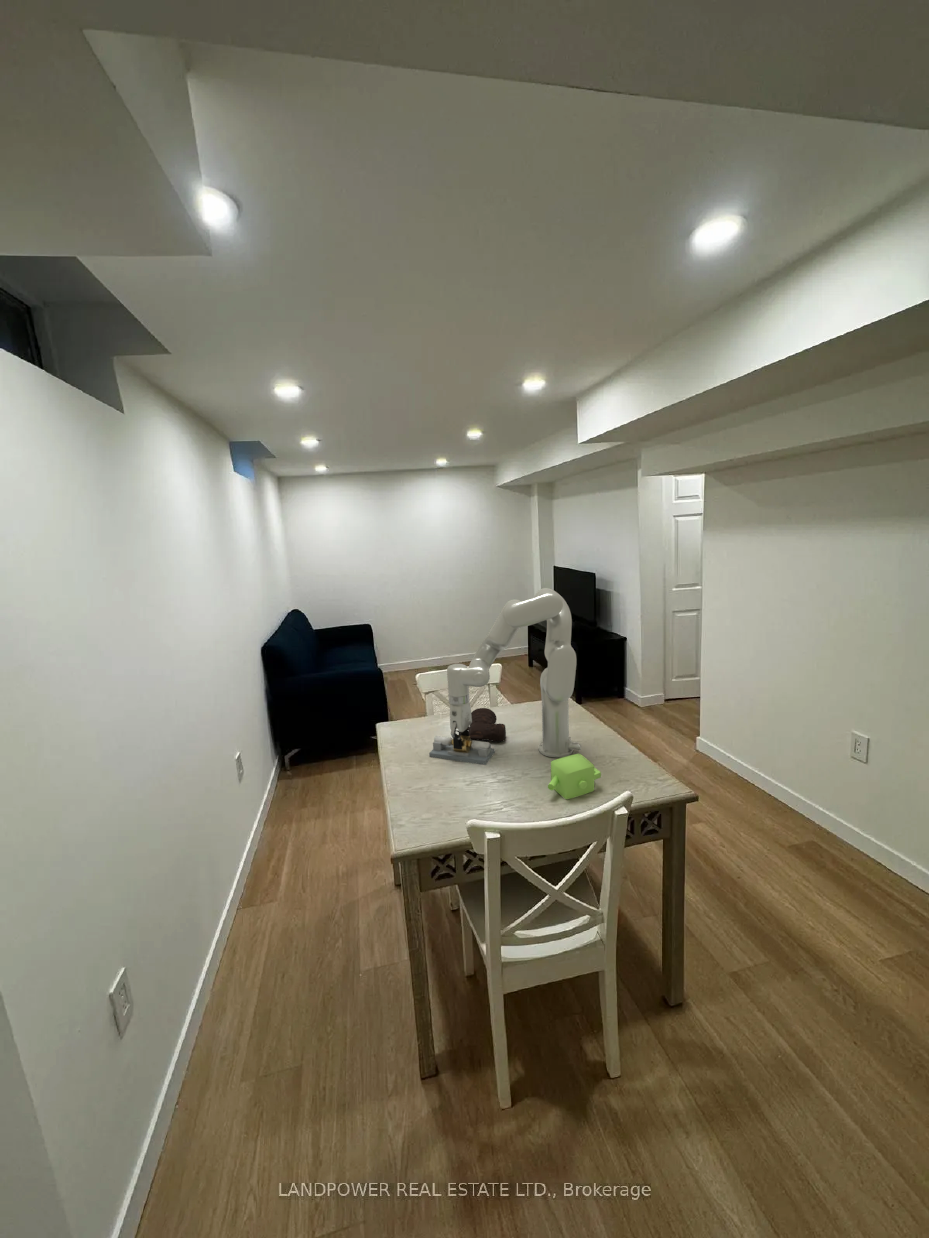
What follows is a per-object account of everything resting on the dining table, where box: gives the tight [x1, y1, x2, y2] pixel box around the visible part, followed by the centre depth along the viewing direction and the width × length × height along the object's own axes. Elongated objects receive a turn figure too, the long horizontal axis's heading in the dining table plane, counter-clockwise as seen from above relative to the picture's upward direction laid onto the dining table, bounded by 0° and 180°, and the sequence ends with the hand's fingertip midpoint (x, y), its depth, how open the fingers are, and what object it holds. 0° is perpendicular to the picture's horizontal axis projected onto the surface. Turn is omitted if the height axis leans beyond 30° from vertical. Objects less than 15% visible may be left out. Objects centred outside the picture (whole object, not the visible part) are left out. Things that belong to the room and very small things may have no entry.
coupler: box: [451, 735, 473, 753], centre depth 180 cm, size 7×4×5 cm, turn 68°
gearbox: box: [547, 753, 602, 800], centre depth 152 cm, size 18×10×10 cm, turn 112°
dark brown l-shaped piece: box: [468, 707, 507, 743], centre depth 195 cm, size 10×15×15 cm
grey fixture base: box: [428, 735, 496, 766], centre depth 180 cm, size 22×10×6 cm, turn 68°
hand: (461, 744), depth 180 cm, fingers open, 6 cm apart
